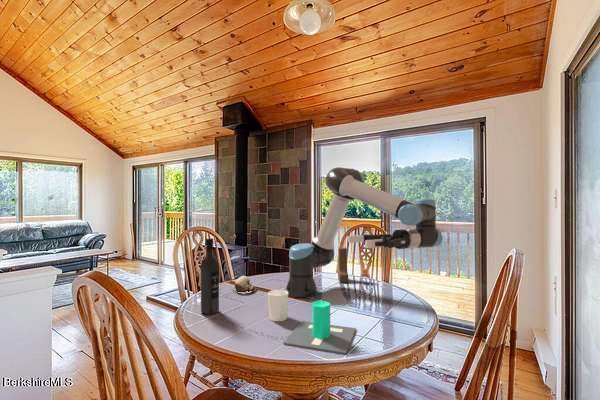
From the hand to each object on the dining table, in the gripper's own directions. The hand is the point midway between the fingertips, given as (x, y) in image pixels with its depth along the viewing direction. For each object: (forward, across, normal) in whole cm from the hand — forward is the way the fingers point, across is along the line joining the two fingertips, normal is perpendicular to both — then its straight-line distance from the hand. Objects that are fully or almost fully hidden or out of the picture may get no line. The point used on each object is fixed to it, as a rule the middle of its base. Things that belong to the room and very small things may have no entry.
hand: (356, 241), depth 114 cm
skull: (+35, +52, -30) cm, 70 cm away
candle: (+17, -7, -30) cm, 35 cm away
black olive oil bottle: (+52, +28, -30) cm, 66 cm away
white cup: (+27, +13, -30) cm, 43 cm away
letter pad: (+17, -7, -30) cm, 35 cm away
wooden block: (-20, +54, -30) cm, 65 cm away
